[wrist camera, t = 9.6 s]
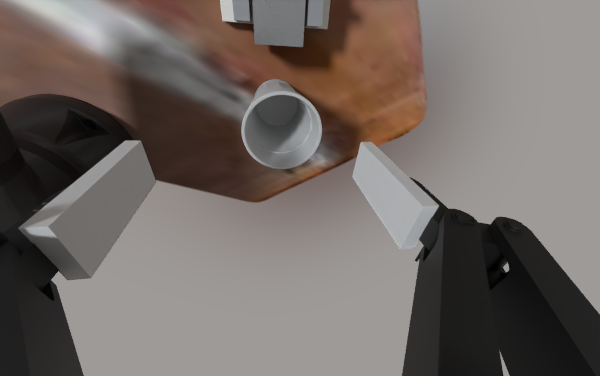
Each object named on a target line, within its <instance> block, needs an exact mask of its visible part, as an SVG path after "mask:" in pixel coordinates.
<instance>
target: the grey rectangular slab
mask: <svg viewBox="0 0 600 376" xmlns="http://www.w3.org/2000/svg"><path fill="white" fill-rule="evenodd" d="M252 3H253V21H254V40H255V44H261V45H277V46H293V47H303V40H304V22H305V4H306V0H252Z"/></svg>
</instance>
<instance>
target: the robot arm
mask: <svg viewBox="0 0 600 376" xmlns="http://www.w3.org/2000/svg"><path fill="white" fill-rule="evenodd" d="M352 178H353V179H354V181H355V182H356V184H357V185H358V187H359V188H360V190H361V191H362V193H363V194H364V196H365V197H366V199H367V200H368V202H369V203H370V205H371V206H372V208H373V209H374V211H375V212H376V214H377V215H378V217H379V218H380V220H381V221H382V223H383V224H384V226H385V227H386V229H387V230H388V232H389V233H390V235H391V236H392V238H393V239H394V241H395V242H396V244H397V245H398V247H399V248H400V249H411V248H415V246H416V244H417V242H418V241H419V240H420V241H421V242H422V243H423V245H424V246H423V248H422V250H421V251H420V253H419V255H418V256H417V258H416V259H415V261H418V260H419V259H420V260H419V268H418V274H417V280H416V287H415V293H414V300H413V307H412V314H411V320H410V327H409V333H408V340H407V346H406V353H405V360H404V367H403V373H402V376H503V371H502V365H501V359H500V353H499V350H500V352H501V354H502V357H503V360H504V362H505V365H506V367H507V370H508V372H509V375H510V376H600V314H599V313H598V312H597V311H596V310H595V308H594V307H593V306H592V305H591V303H590V302H589V301H588V300H587V299H586V297H585V296H584V295H583V294H582V293H581V291H580V290H579V289H578V288H577V286H576V285H575V284H574V283H573V282H572V280H571V279H570V278H569V277H568V276H567V274H566V273H565V272H564V270H563V269H562V268H561V267H560V266H559V264H558V263H557V262H556V261H555V260H554V258H553V257H552V256H551V255H550V253H549V252H548V251H547V250H546V249H545V247H544V246H543V245H542V244H541V242H540V241H539V240H538V239H537V238H536V236H535V235H534V234H533V233H532V231H531V230H529V229H528V228H527V227H526V226H524V225H523V224H522V223H520V222H518V221H516V220H514V219H510V218H506V217H497V218H496V219H495V220H494V221H493V222H492V224H491V225H490V224H484V223H478V222H477V220H475V219H474V218H473V217H472V216H470V215H469V214H467V213H465V212H463V211H461V210H457V209H448V208H447V207H446V206H445V205H444V204H443V203H441V202H440V201H439V200H438V199H437V198H436V197H435V196H434V195H433V194H431V193H430V192H429V191H428V190H427V189H425V187H424V186H423V185H422V184H421V183H419V182H418V181H416V180H414V179H413V178H410V177H408V176H407V175H406V174H405V173H404V172H403V171H402V170H401V169H400V168H399V167H398V166H397V165H395V164H394V163H393V162H392V161H391V160H390V159H389V158H388V157H387V156H386V155H385V154H384V153H383V152H382V151H381V150H379V149H378V148H377V147H376V146H375V145H374V144H373V143H372V142H361V144H360V148H359V152H358V156H357V160H356V163H355V167H354V171H353V175H352ZM155 183H156V180H155V177H154V175H153V172H152V169H151V167H150V164H149V161H148V158H147V156H146V153H145V150H144V148H143V145H142V142H141V141H134V140H133V139H132V138H131V136H130V135H129V134H128V132H127V131H126V130H125V129H124V128H123V127H122V126H121V125H120V124H119V123H118V122H116V121H115V120H114V119H113V118H111V117H110V116H109V115H107V114H106V113H104V112H103V111H101V110H99V109H98V108H96V107H94V106H92V105H90V104H87V103H85V102H83V101H80V100H77V99H74V98H71V97H66V96H62V95H55V94H38V95H32V96H28V97H24V98H21V99H17V100H14V101H11V102H9V103H7V104H5V105H3V106H2V107H0V376H84V375H83V372H82V369H81V365H80V362H79V359H78V356H77V353H76V349H75V346H74V343H73V339H72V336H71V333H70V330H69V326H68V323H67V320H66V316H65V313H64V310H63V306H62V303H61V299H60V296H59V293H58V290H57V286H56V285H55V284H54V283H53V282H52V281H51V279H52V278H53V277H54V276H55V274H56V273H57V272H58V271H59V272H60V273H61V274H62V275H63V276H64V277H65V278H66V279H67V280H75V279H86V278H91V277H92V276H93V274H94V273H95V271H96V270H97V268H98V267H99V266H100V264H101V263H102V261H103V260H104V258H105V257H106V255H107V254H108V252H109V251H110V249H111V248H112V246H113V245H114V243H115V242H116V240H117V239H118V238H119V236H120V235H121V233H122V232H123V230H124V229H125V227H126V226H127V224H128V222H129V221H130V220H131V218H132V217H133V215H134V214H135V212H136V211H137V209H138V208H139V206H140V205H141V203H142V202H143V201H144V199H145V198H146V196H147V195H148V193H149V192H150V190H151V189H152V187H153V186H154V184H155ZM507 262H508V264H509V271H508V272H505V270H504V269H503V266H504V265H505V264H506V263H507Z"/></svg>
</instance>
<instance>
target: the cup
mask: <svg viewBox="0 0 600 376" xmlns="http://www.w3.org/2000/svg"><path fill="white" fill-rule="evenodd" d="M241 131H242V139H243V142H244V145H245V147H246V149H247V151H248V152H249V154H250V155H251V156H252V157H253V158H254V159H255V160H256V161H258V162H259V163H261V164H263V165H265V166H267V167H270V168H275V169H288V168H293V167H296V166H298V165H300V164H302V163H304V162H305V161H307V160H308V159H309V158H310V157H311V156H312V155H313V154H314V153H315V151H316V150H317V148H318V146H319V143H320V140H321V136H322V124H321V119H320V116H319V114H318V112H317V110H316V109H315V107H314V106H313V105H312V104H311V103H310V102H309V101H308V100H307V99H306V98H304V97H303V96H302V95H300V94H299V93H297V92H296V91H295V90H294V89H293V87H292V86H291V85H290V84H288V83H287V82H285V81H283V80H279V79H272V80H268V81H266V82H264V83H263V84H262V85H260V87H259V88H258V89H257V91H256V93H255V97H254V100H253V101H252V103H251V105H250V106H249V108H248V110H247V111H246V113H245V115H244V118H243V122H242V129H241Z"/></svg>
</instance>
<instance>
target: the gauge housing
mask: <svg viewBox="0 0 600 376" xmlns="http://www.w3.org/2000/svg"><path fill="white" fill-rule="evenodd" d="M330 1H331V0H306V4H305V22H304V28H315V29H328V20H329V11H330ZM220 4H221V12H222V21H224V22H236V23H249V24H254V21H253V3H252V0H220Z"/></svg>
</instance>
